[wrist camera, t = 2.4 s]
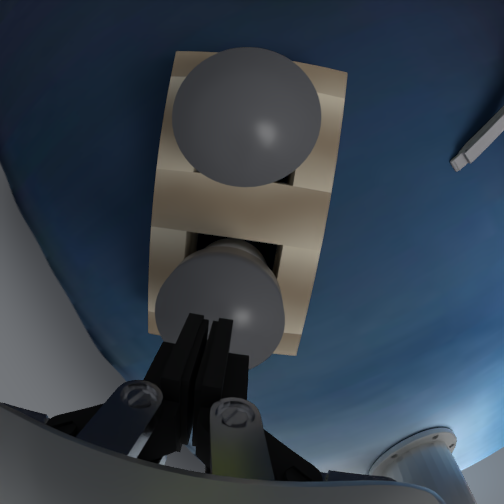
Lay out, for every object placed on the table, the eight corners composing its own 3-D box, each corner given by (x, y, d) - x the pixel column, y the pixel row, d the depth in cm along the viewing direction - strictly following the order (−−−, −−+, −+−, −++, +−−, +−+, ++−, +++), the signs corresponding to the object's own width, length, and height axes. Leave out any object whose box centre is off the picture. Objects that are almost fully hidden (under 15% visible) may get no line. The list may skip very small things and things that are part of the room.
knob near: (293, 188, 18) (309, 197, 12) (195, 175, 18) (162, 178, 12) (306, 94, 17) (328, 59, 10) (209, 81, 16) (185, 43, 10)
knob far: (269, 321, 20) (272, 380, 14) (182, 308, 20) (155, 361, 14) (285, 236, 19) (296, 268, 13) (189, 222, 19) (156, 248, 13)
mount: (290, 327, 23) (295, 355, 19) (164, 308, 23) (148, 332, 19) (332, 89, 18) (347, 72, 15) (190, 70, 18) (176, 51, 14)
